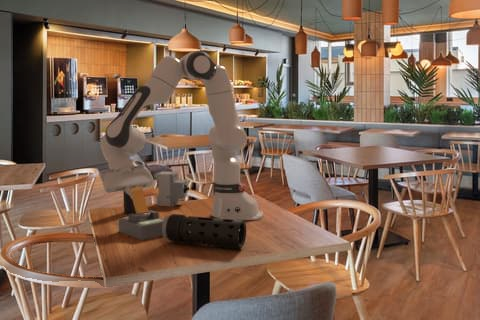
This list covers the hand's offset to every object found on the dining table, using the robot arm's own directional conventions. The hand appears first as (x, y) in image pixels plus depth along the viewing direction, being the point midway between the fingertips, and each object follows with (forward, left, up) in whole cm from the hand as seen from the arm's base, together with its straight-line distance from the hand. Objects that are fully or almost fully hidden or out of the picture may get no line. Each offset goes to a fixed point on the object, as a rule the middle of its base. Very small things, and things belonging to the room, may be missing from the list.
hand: (135, 197), depth 196 cm
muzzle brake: (-31, +13, -13) cm, 36 cm away
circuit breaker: (+3, -46, -13) cm, 48 cm away
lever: (-4, +3, -6) cm, 8 cm away
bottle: (+15, -26, -13) cm, 33 cm away
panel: (-4, +3, -13) cm, 14 cm away
